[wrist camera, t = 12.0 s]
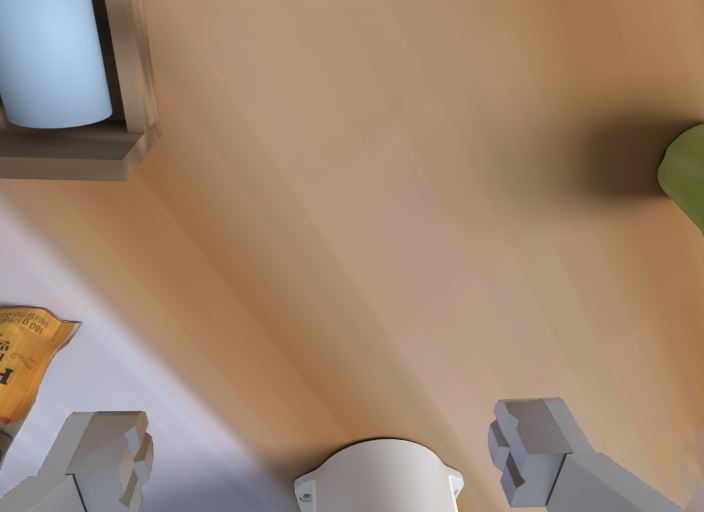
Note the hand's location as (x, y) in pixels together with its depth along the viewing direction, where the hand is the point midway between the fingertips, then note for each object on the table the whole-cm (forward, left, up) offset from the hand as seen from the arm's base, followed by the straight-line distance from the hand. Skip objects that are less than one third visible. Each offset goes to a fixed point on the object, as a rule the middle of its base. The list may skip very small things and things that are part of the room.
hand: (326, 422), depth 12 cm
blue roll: (+5, +15, -25) cm, 30 cm away
